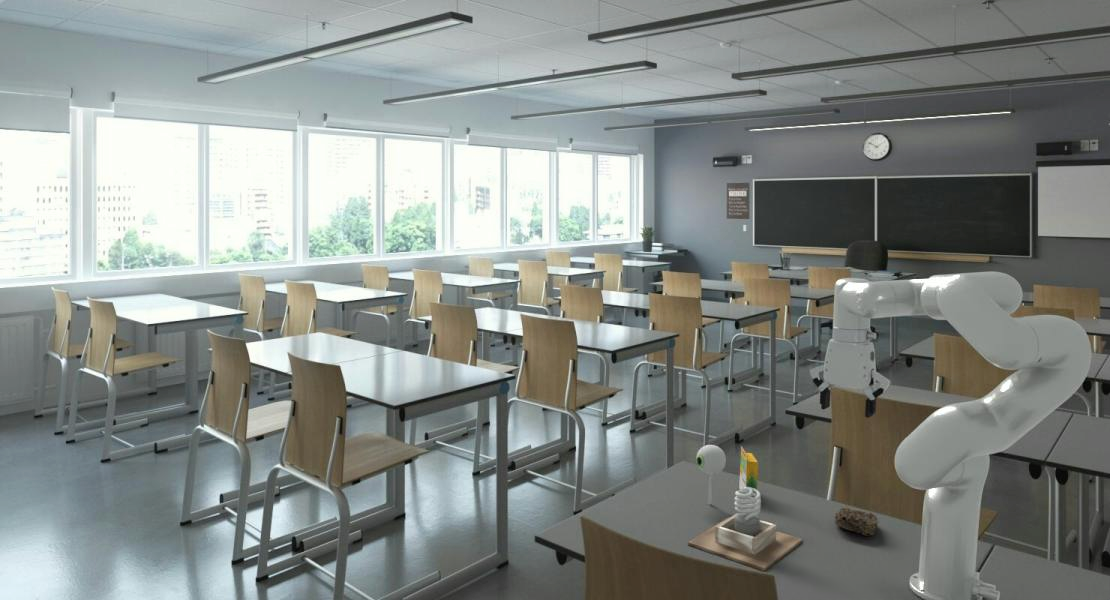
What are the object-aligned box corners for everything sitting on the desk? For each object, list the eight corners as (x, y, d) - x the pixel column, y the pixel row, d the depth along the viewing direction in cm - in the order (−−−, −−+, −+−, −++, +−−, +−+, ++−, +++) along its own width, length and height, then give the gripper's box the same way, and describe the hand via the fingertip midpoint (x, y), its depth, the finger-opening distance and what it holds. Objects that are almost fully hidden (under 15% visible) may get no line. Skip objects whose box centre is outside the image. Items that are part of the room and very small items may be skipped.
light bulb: (760, 547, 168) (762, 493, 167) (733, 545, 169) (735, 491, 168) (758, 536, 174) (760, 484, 172) (733, 534, 175) (734, 482, 173)
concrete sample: (872, 544, 171) (873, 522, 171) (825, 532, 177) (826, 511, 177) (886, 526, 180) (887, 505, 180) (841, 515, 187) (842, 495, 186)
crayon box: (757, 500, 196) (758, 455, 194) (745, 499, 196) (746, 455, 194) (750, 489, 203) (752, 445, 201) (738, 488, 203) (740, 445, 202)
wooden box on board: (802, 541, 172) (802, 524, 172) (764, 570, 159) (765, 552, 158) (728, 519, 184) (729, 502, 184) (687, 544, 171) (688, 527, 170)
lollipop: (689, 501, 195) (690, 443, 193) (713, 496, 198) (714, 439, 196) (706, 511, 188) (708, 451, 186) (730, 506, 191) (732, 447, 189)
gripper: (898, 337, 167) (893, 415, 169) (819, 328, 178) (815, 401, 180) (885, 342, 161) (881, 423, 164) (805, 333, 173) (801, 408, 175)
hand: (846, 412), depth 172 cm, fingers open, 9 cm apart
